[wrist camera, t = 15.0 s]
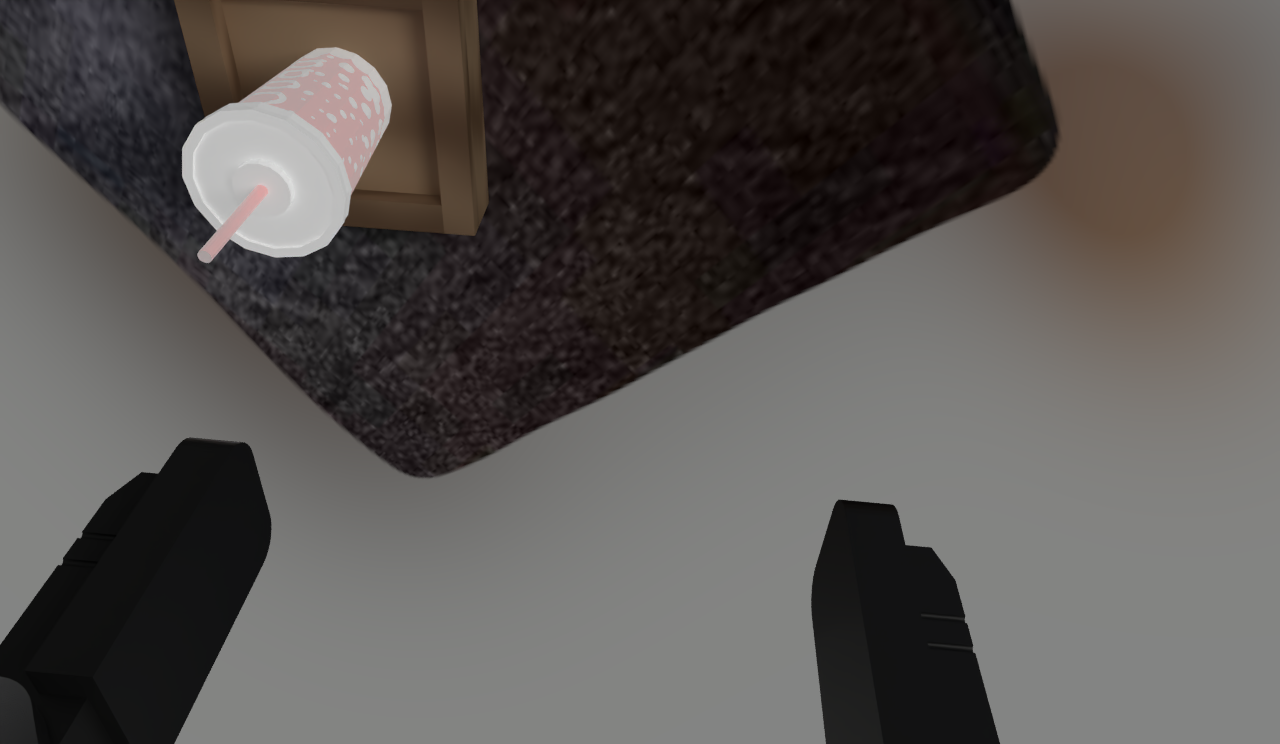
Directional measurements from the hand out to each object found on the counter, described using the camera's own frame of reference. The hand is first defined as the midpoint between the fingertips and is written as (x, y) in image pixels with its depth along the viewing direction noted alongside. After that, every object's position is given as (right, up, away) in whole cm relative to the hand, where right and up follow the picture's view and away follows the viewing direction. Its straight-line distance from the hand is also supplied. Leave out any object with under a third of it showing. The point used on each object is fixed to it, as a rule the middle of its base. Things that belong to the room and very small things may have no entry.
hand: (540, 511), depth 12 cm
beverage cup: (-12, +15, +28) cm, 34 cm away
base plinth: (-12, +16, +30) cm, 36 cm away
